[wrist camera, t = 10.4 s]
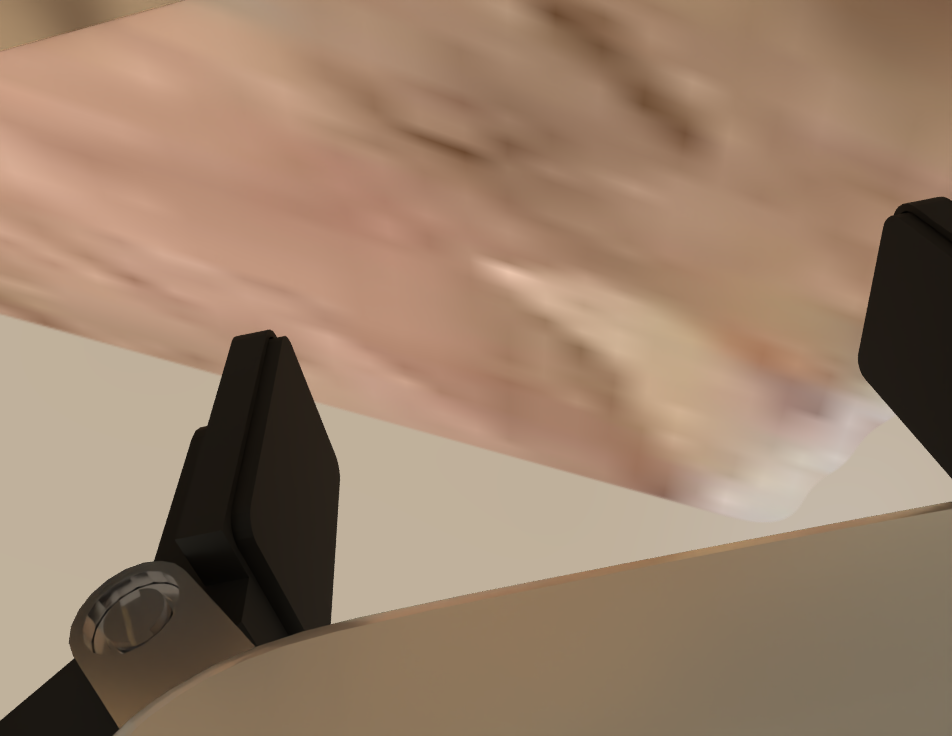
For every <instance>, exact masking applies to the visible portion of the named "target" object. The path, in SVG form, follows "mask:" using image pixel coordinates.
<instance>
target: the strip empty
mask: <svg viewBox="0 0 952 736" xmlns="http://www.w3.org/2000/svg"><path fill="white" fill-rule="evenodd" d="M180 1H183V0H0V51H3V50H6V49H10V48H14V47H17V46H21V45H24V44H28V43H32V42H35V41H39V40H42V39H46V38H50V37H53V36H57V35H61V34H64V33H68V32H71V31H75V30H79V29H82V28H86V27H89V26H93V25H97V24H100V23H104V22H107V21H111V20H115V19H118V18H122V17H126V16H129V15H133V14H136V13H140V12H144V11H147V10H151V9H154V8H158V7H162V6H165V5H169V4H172V3H176V2H180Z"/></svg>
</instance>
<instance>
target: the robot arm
mask: <svg viewBox="0 0 952 736" xmlns="http://www.w3.org/2000/svg"><path fill="white" fill-rule="evenodd" d="M858 364H859V368H860V371H861V373H862V375H863V377H864V378H865V379H866V381H867V382H868V383H869V384H870V385H871V386H872V387H873V389H874V390H875V391H876V392H877V393H878V394H879V395H880V397H881V398H882V399H883V400H884V401H885V402H886V404H887V405H888V406H889V407H890V408H891V409H892V410H893V412H894V413H895V414H896V415H897V416H898V417H899V418H900V420H901V421H902V422H903V423H904V424H905V425H906V427H907V428H908V429H909V430H910V431H911V432H912V433H913V435H914V436H915V437H916V438H917V439H918V440H919V441H920V443H922V445H923V446H924V447H925V448H926V449H927V451H928V452H929V453H930V454H931V455H932V456H933V458H934V459H935V460H936V461H937V462H938V463H939V464H940V466H941V467H942V468H943V469H944V470H945V471H946V472H947V474H948V475H949V476H950V477H951V478H952V201H951V200H950V199H948V198H945V197H936V198H931V199H926V200H921V201H916V202H911V203H906V204H902V205H901V206H899V207H898V208H897V210H896V211H895V213H894V215H893V216H890V217H889V218H887V220H886V221H885V223H884V226H883V231H882V236H881V241H880V246H879V251H878V256H877V262H876V267H875V272H874V277H873V282H872V287H871V292H870V297H869V302H868V307H867V312H866V317H865V322H864V328H863V333H862V338H861V343H860V348H859V353H858ZM339 485H340V473H339V466H338V462H337V458H336V455H335V453H334V450H333V448H332V445H331V443H330V440H329V438H328V435H327V433H326V430H325V428H324V425H323V423H322V420H321V418H320V415H319V413H318V410H317V408H316V405H315V403H314V400H313V398H312V395H311V393H310V390H309V388H308V385H307V382H306V380H305V377H304V375H303V372H302V370H301V367H300V365H299V362H298V360H297V357H296V355H295V352H294V350H293V347H292V345H291V343H290V341H289V339H288V338H287V337H286V336H283V337H278V338H277V337H276V335H275V333H274V332H273V331H272V330H265V331H260V332H255V333H250V334H245V335H240V336H236V337H234V338H233V340H232V343H231V346H230V350H229V353H228V357H227V360H226V363H225V367H224V370H223V374H222V377H221V381H220V385H219V388H218V391H217V395H216V398H215V401H214V405H213V409H212V412H211V415H210V419H209V422H208V426H205V427H200V428H199V429H198V430H196V431H195V433H194V435H193V438H192V440H191V443H190V447H189V450H188V453H187V456H186V459H185V463H184V466H183V469H182V472H181V476H180V479H179V482H178V485H177V488H176V492H175V495H174V498H173V501H172V505H171V508H170V511H169V514H168V518H167V521H166V524H165V527H164V530H163V534H162V537H161V540H160V543H159V547H158V550H157V553H156V556H155V560H154V562H146V563H142V564H139V565H136V566H133V567H130V568H128V569H125V570H123V571H122V572H120V573H118V574H117V575H115V576H113V577H112V578H110V579H108V580H107V581H106V582H105V583H103V584H102V585H101V586H100V587H99V588H98V589H97V590H95V591H94V592H93V593H92V594H91V595H90V596H89V598H88V599H87V600H86V602H85V603H84V604H83V605H82V607H81V608H80V609H79V611H78V613H77V615H76V617H75V619H74V621H73V624H72V626H71V631H70V638H69V644H70V647H71V651H72V654H73V656H74V659H73V660H72V661H71V662H70V663H68V664H67V665H66V666H65V667H64V668H62V669H61V670H60V671H59V672H58V673H56V674H55V675H54V676H53V677H52V678H51V679H49V680H48V681H47V682H46V683H45V684H43V685H42V686H41V687H40V688H39V689H37V690H36V691H35V692H34V693H33V694H32V695H30V696H29V697H28V698H27V699H26V700H24V701H23V702H22V703H21V704H20V705H18V706H17V707H16V708H15V709H14V710H12V711H11V712H10V713H9V714H8V715H7V716H5V717H4V718H3V719H2V720H1V721H0V736H952V502H947V503H941V504H936V505H930V506H925V507H919V508H914V509H909V510H903V511H898V512H893V513H887V514H882V515H876V516H871V517H865V518H861V519H855V520H850V521H845V522H840V523H834V524H828V525H823V526H818V527H813V528H807V529H802V530H797V531H792V532H787V533H782V534H776V535H770V536H766V537H761V538H755V539H749V540H744V541H739V542H734V543H729V544H723V545H718V546H713V547H708V548H703V549H697V550H692V551H687V552H682V553H677V554H671V555H667V556H661V557H656V558H650V559H645V560H640V561H635V562H630V563H625V564H620V565H615V566H609V567H605V568H600V569H594V570H589V571H585V572H579V573H574V574H569V575H564V576H559V577H554V578H549V579H543V580H538V581H533V582H528V583H524V584H518V585H513V586H508V587H503V588H498V589H493V590H487V591H482V592H477V593H472V594H467V595H463V596H458V597H453V598H449V599H444V600H439V601H434V602H429V603H425V604H420V605H415V606H411V607H406V608H401V609H396V610H392V611H387V612H382V613H378V614H373V615H369V616H364V617H359V618H355V619H351V620H347V621H343V622H339V623H335V624H331V610H332V595H333V579H334V564H335V548H336V533H337V517H338V500H339Z"/></svg>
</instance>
